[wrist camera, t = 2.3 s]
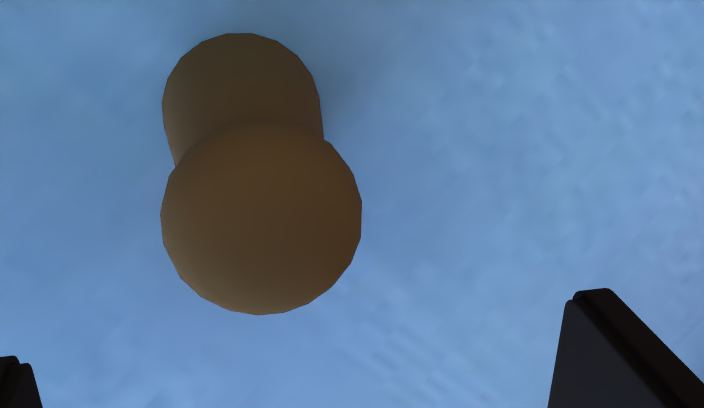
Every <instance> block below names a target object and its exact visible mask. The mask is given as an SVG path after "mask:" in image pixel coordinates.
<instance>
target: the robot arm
mask: <svg viewBox="0 0 704 408" xmlns="http://www.w3.org/2000/svg"><path fill="white" fill-rule="evenodd" d="M0 408H43V407H42V403H41V400H40V396H39V392H38V388H37V385H36V381H35V377H34V374H33V370H32V367H31V365H30V364H29V363H23V364H20V363H19V360H18V359H17V357H16V356H5V357H0ZM548 408H704V383H703V382H702V381H701V380H700V379H699V378H698V377H697V376H696V375H695V374H694V373H693V372H692V371H691V370H690V369H689V368H688V367H687V366H686V365H685V364H684V363H683V362H682V361H681V360H680V359H679V358H678V357H677V356H676V355H675V354H674V353H673V352H672V351H671V350H670V349H669V348H668V347H667V346H666V345H665V344H664V343H663V342H662V341H661V340H660V339H659V338H658V337H657V336H656V335H655V334H654V333H653V332H652V331H651V330H650V329H649V328H648V326H647V325H646V324H645V323H644V322H643V321H642V320H641V319H640V318H639V317H638V316H637V315H636V314H635V313H634V312H633V311H632V310H631V309H630V308H629V307H628V306H627V305H626V304H625V303H624V302H623V301H622V300H621V299H620V298H619V297H618V296H617V295H616V294H615V293H614V292H613V291H612V290H610V289H608V288H601V289H592V290H583V291H578V292H576V293H575V294H574V296H573V299H572V300H569V301H567V302H566V304H565V308H564V314H563V320H562V326H561V332H560V338H559V344H558V349H557V355H556V361H555V367H554V373H553V379H552V385H551V391H550V396H549V402H548Z"/></svg>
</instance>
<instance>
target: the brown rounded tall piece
mask: <svg viewBox="0 0 704 408" xmlns="http://www.w3.org/2000/svg"><path fill="white" fill-rule="evenodd" d="M162 111H163V121H164V128H165V132H166V135H167V139H168V142H169V146H170V150H171V153H172V157H173V160H174V164H175V168H174V170H173V171H172V173H171V174H170V176H169V178H168V182H167V186H166V190H165V194H164V198H163V202H162V206H161V212H160V218H161V227H162V236H163V244H164V246H165V248H166V250H167V253H168V255H169V257H170V259H171V260H172V262H173V264H174V266H175V268H176V270H177V272H178V274H179V276H180V278H181V279H182V280H183V281H184V282H185V283H186V284H188V285H189V286H190V287H191V288H192V289H193V290H194V291H195V292H196V293H197V294H198V295H199V296H200V297H202V298H204V299H206V300H208V301H210V302H212V303H214V304H216V305H219V306H221V307H223V308H225V309H227V310H230V311H235V312H241V313H246V314H252V315H266V314H276V313H284V312H287V311H290V310H292V309H295V308H298V307H301V306H303V305H306V304H309V303H310V302H311V301H313V300H314V299H316V298H317V297H318V296H320V295H321V294H323V293H324V292H325V291H327V290H328V289H330V288H331V287H332V286H333V285H334V284H335V283H336V281H337V280H338V279H339V277H340V276H341V275H342V274H343V272H344V271H345V270H346V269H347V267H348V266H349V265H350V264H351V262H352V259H353V256H354V254H355V251H356V249H357V246H358V243H359V241H360V238H361V214H362V200H361V197H360V194H359V191H358V188H357V185H356V182H355V178H354V175H353V173H352V172H351V170H350V168H349V167H348V165H347V164H346V163H345V161H344V160H343V159H342V158H341V156H340V155H339V154H338V152H337V151H336V150H335V148H334V147H333V146H332V145H331V144H330V143H329V142H327V141H326V140H324V134H323V126H322V117H321V109H320V100H319V95H318V92H317V89H316V86H315V83H314V80H313V77H312V75H311V73H310V72H309V71H308V69H307V68H306V67H305V65H304V64H303V63H302V61H301V60H300V58H299V57H298V56H297V55H296V54H294V53H293V52H292V51H290V50H289V49H287V48H286V47H285V46H283V45H282V44H280V43H279V42H277V41H275V40H272V39H269V38H265V37H262V36H259V35H256V34H252V33H244V34H224V35H221V36H218V37H215V38H212V39H209V40H206V41H204V42H201V43H200V44H199V45H197V46H196V47H195V48H193V49H192V50H191V51H189V52H188V53H187V54H186V55H184V56H183V57H182V58H181V59H180V60H179V62H178V64H177V65H176V67H175V68H174V70H173V71H172V73H171V74H170V76H169V77H168V79H167V83H166V87H165V91H164V95H163V99H162Z"/></svg>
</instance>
